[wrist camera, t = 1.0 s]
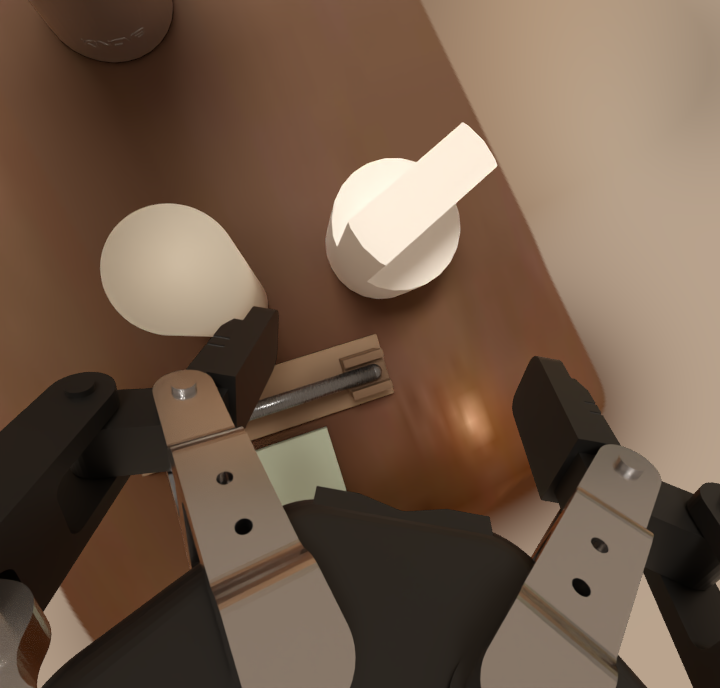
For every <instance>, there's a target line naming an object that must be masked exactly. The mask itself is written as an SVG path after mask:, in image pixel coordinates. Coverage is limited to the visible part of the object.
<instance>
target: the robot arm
mask: <svg viewBox="0 0 720 688" xmlns="http://www.w3.org/2000/svg"><path fill="white" fill-rule="evenodd" d="M28 1H29V2H30V3H31V5H32V6H33V7H34V8H35V10H36V11H37V12H38V13H39V15H40V16H41V17H42V18H43V20H44V21H45V22H46V23H47V25H48V26H49V27H50V28H51V30H52V31H53V32H54V33H55V34H56V35H57V37H58V38H59V39H60V40H61V41H62V42H63V43H65V44H66V45H67V46H68V47H70V48H71V49H72V50H74V51H76V52H78V53H80V54H82V55H84V56H86V57H89V58H92V59H95V60H98V61H106V62H124V61H130V60H133V59H136V58H139V57H142V56H143V55H145V54H147V53H149V52H150V51H152V50H153V49H154V48H155V47H156V46H157V45H158V44H159V43H160V42H161V41H162V39H163V38H164V36H165V35H166V33H167V32H168V29H169V26H170V23H171V21H172V13H173V2H172V0H28ZM278 321H279V314H278V311H277V310H274V309H268V308H262V307H257V306H253V307H252V308H251V310H250V311H249V313H248V314H247V315H246V317H245V318H244V319H243V320H240V319H235V318H234V319H232V320H230V321H228V322H227V323H225V324H223V325H221V326H220V327H219V329H218V330H217V331H216V332H215V334H214V335H213V337H211V339H210V340H209V341H208V342H207V345H205V346H204V347H203V349H202V350H201V351H200V352H199V354H198V355H197V356H196V357H195V359H194V360H193V361H192V363H191V364H190V365H189V366H188V368H187V369H186V370H180V371H175V372H172V373H169V374H167V375H165V376H163V377H162V378H160V379H159V380H158V381H157V382H156V383H155V384H154V386H153V388H146V389H126V390H117V388H116V384H115V381H114V379H113V378H112V377H110V376H109V375H106V374H103V373H99V372H84V373H78V374H74V375H70V376H67V377H65V378H62V379H60V380H58V381H57V382H55V383H53V384H52V385H51V386H50V387H49V388H48V389H46V390H45V391H44V392H43V393H42V394H41V395H40V396H39V397H38V398H37V399H35V400H34V401H33V402H32V403H31V404H30V405H29V406H28V407H27V408H26V409H25V410H23V411H22V412H21V413H20V414H19V415H18V416H17V417H16V418H15V419H14V420H12V421H11V422H10V423H9V424H8V425H7V426H6V427H5V428H4V429H3V430H2V431H0V688H37V679H38V674H39V670H40V667H41V664H42V662H43V660H44V658H45V655H46V653H47V651H48V648H49V645H50V641H51V628H50V624H49V622H48V620H47V618H46V616H45V615H44V613H43V611H44V610H45V608H46V607H47V605H48V604H49V602H50V600H51V599H52V597H53V596H54V594H55V593H56V591H57V590H58V588H59V586H60V585H61V583H62V582H63V580H64V579H65V577H66V575H67V574H68V572H69V571H70V569H71V568H72V566H73V564H74V563H75V561H76V560H77V558H78V557H79V555H80V553H81V552H82V550H83V549H84V547H85V546H86V544H87V543H88V541H89V539H90V538H91V536H92V535H93V533H94V532H95V530H96V528H97V527H98V525H99V524H100V522H101V521H102V519H103V517H104V516H105V514H106V513H107V511H108V510H109V508H110V506H111V505H112V503H113V502H114V500H115V499H116V497H117V496H118V494H119V492H120V491H121V489H122V488H123V486H124V485H125V483H126V481H127V480H128V478H129V477H130V475H136V474H147V473H157V472H166V473H167V477H168V481H169V485H170V489H171V493H172V496H173V500H174V504H175V508H176V512H177V515H178V519H179V523H180V527H181V531H182V535H183V540H184V545H185V550H186V554H187V558H188V563H189V567H190V570H189V571H188V572H187V573H185V574H184V575H183V576H181V577H180V578H179V579H177V580H176V581H175V582H173V583H172V584H170V585H169V586H168V587H166V588H165V589H164V590H162V591H161V592H160V593H158V594H157V595H156V596H154V597H153V598H152V599H150V600H149V601H148V602H146V603H145V604H144V605H142V606H141V607H140V608H138V609H137V610H136V611H134V612H133V613H132V614H130V615H129V616H127V617H126V618H125V619H123V620H122V621H121V622H119V623H118V624H117V625H115V626H114V627H113V628H111V629H110V630H109V631H107V632H106V633H105V634H103V635H102V636H101V637H99V638H98V639H97V640H95V641H94V642H93V643H91V644H90V645H89V646H87V647H86V648H85V649H83V650H82V651H80V652H79V653H78V654H76V655H75V656H74V657H73V658H71V659H70V660H69V661H68V662H67V663H65V664H64V665H63V666H62V667H61V668H60V669H59V670H58V671H57V672H56V673H55V674H54V675H53V676H52V677H51V678H50V679H49V680H48V681H47V682H46V683H45V684H44V685H43V686H42V688H647V687H646V686H645V685H644V684H643V682H642V681H641V680H640V679H639V678H638V677H637V676H636V675H635V673H634V672H633V671H632V670H631V669H630V668H629V667H628V666H627V665H626V663H625V662H624V661H623V660H622V659H621V658H620V657H619V655H618V652H619V649H620V646H621V643H622V639H623V636H624V633H625V629H626V626H627V623H628V620H629V617H630V613H631V610H632V607H633V603H634V600H635V597H636V593H637V590H638V587H639V584H640V581H641V577H642V574H643V573H644V575H645V577H646V579H647V582H648V584H649V587H650V589H651V591H652V594H653V596H654V598H655V600H656V602H657V605H658V607H659V610H660V612H661V614H662V617H663V619H664V621H665V623H666V626H667V628H668V630H669V633H670V635H671V637H672V640H673V642H674V644H675V647H676V649H677V651H678V654H679V656H680V658H681V660H682V663H683V665H684V667H685V670H686V672H687V674H688V677H689V679H690V681H691V684H692V686H693V688H720V591H719V589H718V587H717V585H716V584H715V583H716V582H717V581H718V580H720V484H717V483H705V484H703V485H702V486H701V487H700V488H699V489H698V490H697V491H696V492H695V493H694V494H692V493H690V492H687V491H685V490H682V489H680V488H677V487H675V486H672V485H670V484H667V483H665V482H662V481H661V476H660V474H659V472H658V471H657V469H656V468H655V467H654V466H653V465H652V464H651V463H650V462H649V461H648V460H647V459H646V458H644V457H643V456H642V455H640V454H638V453H637V452H635V451H633V450H631V449H629V448H626V447H623V446H621V445H620V443H619V442H618V440H617V438H616V437H615V435H614V433H613V432H612V430H611V428H610V427H609V425H608V423H607V422H606V420H605V419H604V417H603V415H601V412H600V410H599V408H598V407H597V405H595V402H594V400H593V398H592V397H591V395H590V393H589V392H588V390H587V389H585V388H584V387H583V386H582V385H581V384H580V383H579V382H578V381H577V380H575V379H572V378H571V377H570V375H569V374H568V372H567V370H566V368H565V367H564V365H563V363H562V362H561V361H560V360H555V359H550V358H544V357H538V356H534V357H533V358H532V359H531V360H530V362H529V364H528V366H527V368H526V371H525V373H524V375H523V377H522V379H521V382H520V384H519V386H518V388H517V390H516V393H515V395H514V399H513V405H512V410H513V415H514V418H515V421H516V424H517V428H518V431H519V434H520V437H521V440H522V443H523V446H524V449H525V452H526V455H527V458H528V461H529V465H530V468H531V471H532V474H533V477H534V480H535V483H536V486H537V489H538V492H539V495H540V498H541V500H544V501H550V502H555V503H559V505H560V510H559V511H558V513H557V514H556V516H555V518H554V519H553V521H552V523H551V524H550V526H549V528H548V530H547V531H546V533H545V535H544V536H543V538H542V539H541V541H540V543H539V544H538V546H537V548H536V550H535V551H534V553H533V555H532V557H530V556H529V555H527V554H526V553H525V552H524V551H522V550H521V549H520V548H519V547H518V546H516V545H514V544H513V543H512V542H510V541H508V540H507V539H505V538H503V537H501V536H499V535H497V534H496V533H493V532H492V527H491V522H490V517H488V516H483V515H477V514H471V513H466V512H460V511H455V510H449V509H440V510H423V511H400V510H398V509H395V508H393V507H390V506H388V505H386V504H383V503H381V502H378V501H376V500H374V499H371V498H369V497H367V496H364V495H362V494H359V493H354V492H349V491H343V490H337V489H332V488H326V487H321V486H317V487H316V491H315V496H314V499H309V500H301V501H295V502H292V503H289V504H285V505H283V506H282V504H281V502H280V500H279V498H278V496H277V494H276V492H275V490H274V488H273V486H272V484H271V482H270V480H269V477H268V475H267V473H266V471H265V469H264V467H263V465H262V463H261V461H260V459H259V457H258V455H257V453H256V451H255V449H254V447H253V445H252V443H251V441H250V439H249V436H248V434H247V432H246V431H245V428H246V426H247V424H248V422H249V420H250V417H251V415H252V413H253V411H254V409H255V407H256V405H257V403H258V401H259V399H260V397H261V395H262V393H263V390H264V388H265V386H266V384H267V382H268V380H269V378H270V376H271V374H272V372H273V369H274V366H275V363H276V358H277V346H278Z"/></svg>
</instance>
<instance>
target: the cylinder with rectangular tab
mask: <svg viewBox="0 0 720 688" xmlns="http://www.w3.org/2000/svg"><path fill="white" fill-rule="evenodd" d="M496 167H497V164H496V161H495V159H494V157H493V155H492V154H491V152H490V150H489V149H488V147H487V145H486V144H485V142H484V141H483V140H482V139H481V138H480V137H479V136H478V135H477V134H476V133H475V132H474V131H473V130H472V129H471V128H470V127H469V126H468V125H466V124H465V123H461V124H460V125H459V126H458V127H457V128H456V129H455V130H453V131H452V132H451V133H450V134H449V135H448V136H446V137H445V138H444V139H443V140H442V141H441V142H439V143H438V144H437V145H436V146H435V147H434V148H433V149H431V150H430V151H429V152H428V153H427V154H426V155H424V156H423V157H422V158H421V159H420V160H419V161H418V162H413V161H409V160H405V159H402V158H385V159H381V160H377V161H374V162H371V163H368V164H366V165H364V166H363V167H361V168H360V169H358V170H357V171H355V172H354V173H353V174H352V175H351V176H350V177H349V178H348V179H347V180H346V182H345V183H344V184H343V185H342V187H341V189H340V191H339V193H338V195H337V197H336V199H335V202H334V205H333V209H332V213H331V217H330V220H329V224H328V229H327V234H326V239H325V241H326V253H327V257H328V260H329V263H330V266H331V268H332V270H333V271H334V273H335V274H336V276H337V277H338V279H339V280H340V281H341V282H342V283H343V284H344V285H346V286H347V287H348V288H349V289H350V290H352V291H354V292H356V293H358V294H360V295H362V296H364V297H369V298H374V299H386V298H393V297H396V296H399V295H401V294H404V293H407V292H409V291H411V290H414V289H416V288H418V287H421V286H423V285H425V284H427V283H428V282H430V281H431V280H433V279H434V278H436V277H437V276H439V275H440V274H441V273H442V271H443V270H444V269H445V268H446V267H447V265H448V264H449V263H450V262H451V260H452V257H453V255H454V253H455V251H456V249H457V246H458V240H459V235H460V220H459V212H458V209H457V206H456V203H457V202H458V201H459V200H460V199H461V198H462V197H463V196H464V195H466V194H467V193H468V192H469V191H470V190H471V189H472V188H473V187H474V186H476V185H477V184H478V183H479V182H480V181H481V180H482V179H483V178H485V177H486V176H487V175H488V174H489V173H490V172H491V171H492V170H494V169H495V168H496Z"/></svg>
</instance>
